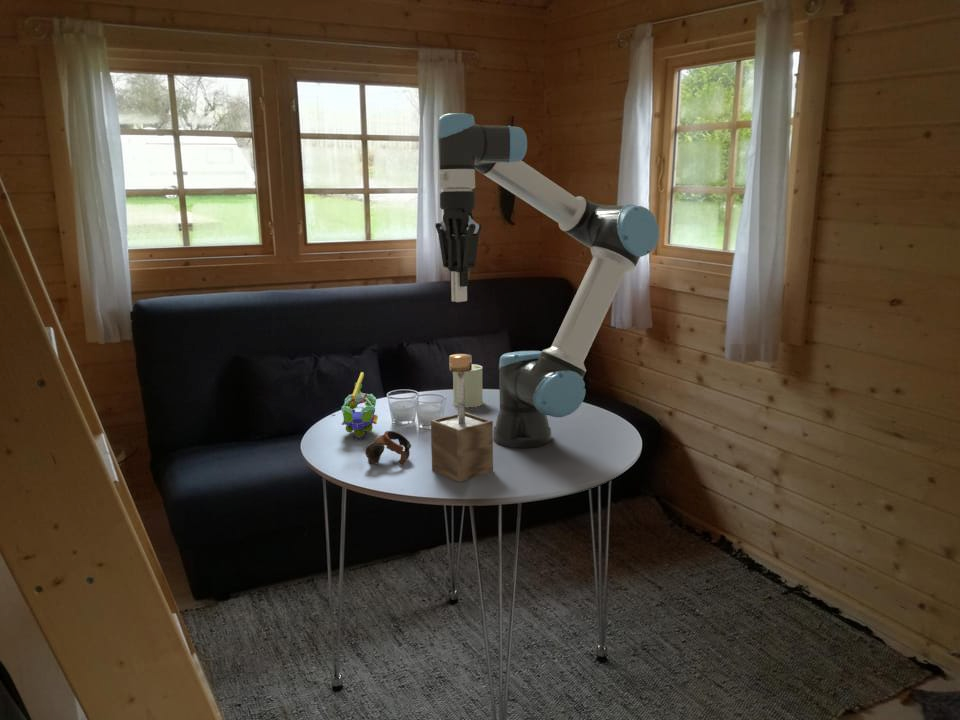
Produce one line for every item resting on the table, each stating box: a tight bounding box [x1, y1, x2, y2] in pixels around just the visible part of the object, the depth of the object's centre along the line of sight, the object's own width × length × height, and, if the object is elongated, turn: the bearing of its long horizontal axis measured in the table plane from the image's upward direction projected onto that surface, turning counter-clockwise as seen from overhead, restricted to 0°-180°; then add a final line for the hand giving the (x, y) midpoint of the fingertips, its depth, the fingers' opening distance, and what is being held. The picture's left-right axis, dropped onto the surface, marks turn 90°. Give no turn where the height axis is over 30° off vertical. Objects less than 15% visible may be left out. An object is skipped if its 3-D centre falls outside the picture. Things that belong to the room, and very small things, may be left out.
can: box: [452, 363, 484, 409], centre depth 221 cm, size 9×9×12 cm
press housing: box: [430, 411, 494, 483], centre depth 166 cm, size 10×10×12 cm
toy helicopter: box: [341, 371, 379, 440], centre depth 192 cm, size 25×9×15 cm, turn 4°
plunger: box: [440, 353, 484, 429], centre depth 163 cm, size 8×8×16 cm
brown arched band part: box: [365, 430, 412, 466], centre depth 173 cm, size 12×10×8 cm
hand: (459, 300), depth 159 cm, fingers closed
